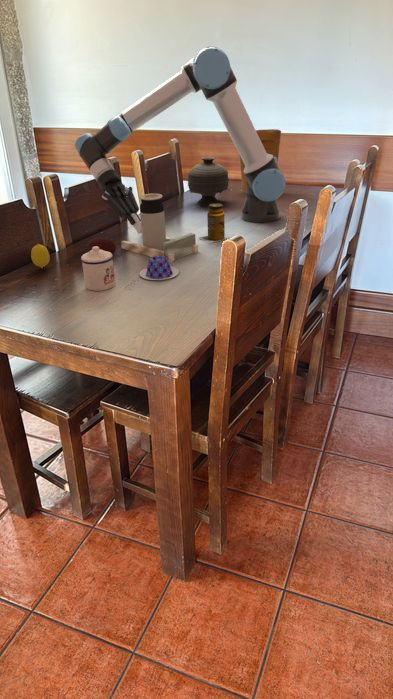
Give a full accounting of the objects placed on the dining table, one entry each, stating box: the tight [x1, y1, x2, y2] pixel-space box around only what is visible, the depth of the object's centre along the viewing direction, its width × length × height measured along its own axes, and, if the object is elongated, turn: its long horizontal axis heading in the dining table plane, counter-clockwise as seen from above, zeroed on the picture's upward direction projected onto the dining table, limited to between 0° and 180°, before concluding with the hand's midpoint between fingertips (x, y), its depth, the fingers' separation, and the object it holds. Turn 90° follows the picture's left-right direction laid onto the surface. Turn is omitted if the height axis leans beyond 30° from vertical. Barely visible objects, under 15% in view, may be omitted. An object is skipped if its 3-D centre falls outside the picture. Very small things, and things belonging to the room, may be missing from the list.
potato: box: [87, 236, 117, 255], centre depth 177 cm, size 7×10×6 cm
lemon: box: [30, 243, 50, 269], centre depth 168 cm, size 6×6×8 cm
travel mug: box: [139, 193, 167, 251], centre depth 178 cm, size 8×8×18 cm
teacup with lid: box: [80, 246, 116, 292], centre depth 153 cm, size 12×9×12 cm
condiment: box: [199, 203, 230, 244], centre depth 187 cm, size 7×8×12 cm
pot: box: [187, 156, 229, 207], centre depth 231 cm, size 18×18×20 cm
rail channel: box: [120, 232, 199, 263], centre depth 180 cm, size 24×13×6 cm, turn 48°
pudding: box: [139, 256, 180, 281], centre depth 160 cm, size 12×12×5 cm
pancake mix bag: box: [238, 128, 282, 194], centre depth 242 cm, size 7×19×28 cm, turn 74°
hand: (141, 231), depth 182 cm, fingers closed
